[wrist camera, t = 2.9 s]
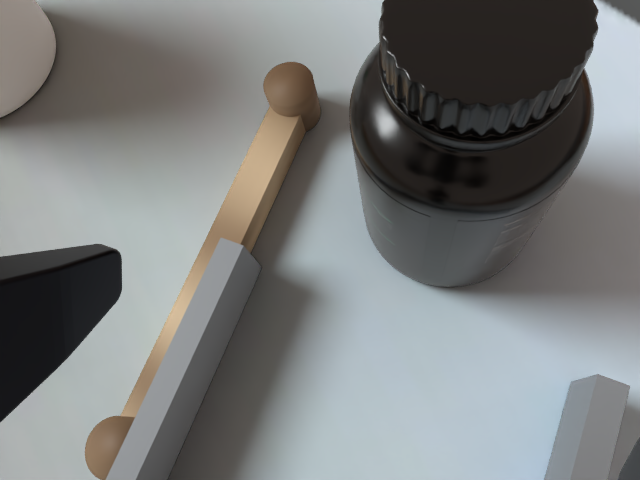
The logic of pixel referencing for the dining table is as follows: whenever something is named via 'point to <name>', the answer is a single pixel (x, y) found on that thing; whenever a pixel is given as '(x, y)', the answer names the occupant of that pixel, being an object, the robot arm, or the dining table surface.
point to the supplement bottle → (469, 129)
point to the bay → (209, 346)
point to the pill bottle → (23, 52)
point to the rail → (226, 229)
